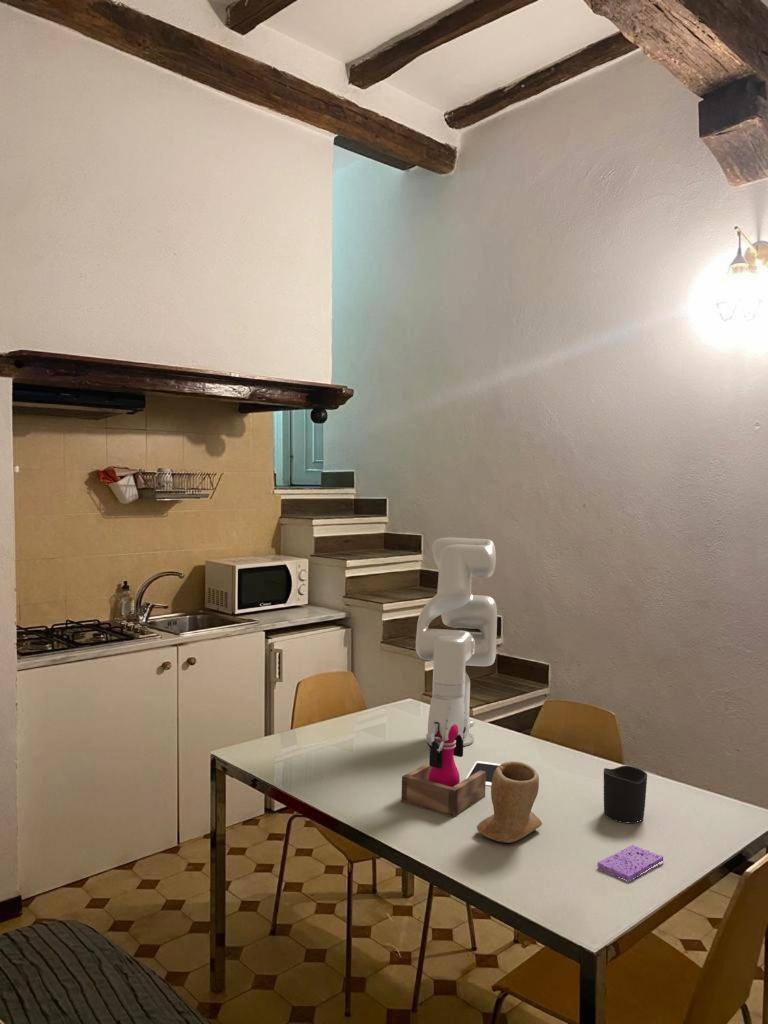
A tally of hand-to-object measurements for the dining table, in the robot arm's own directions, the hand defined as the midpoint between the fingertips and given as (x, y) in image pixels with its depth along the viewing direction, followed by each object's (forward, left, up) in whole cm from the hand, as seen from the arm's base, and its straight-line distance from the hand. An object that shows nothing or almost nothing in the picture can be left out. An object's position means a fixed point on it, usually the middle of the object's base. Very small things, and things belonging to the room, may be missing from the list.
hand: (446, 761), depth 186 cm
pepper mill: (+1, 0, -8) cm, 8 cm away
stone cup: (+7, +21, -9) cm, 24 cm away
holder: (0, 0, -9) cm, 9 cm away
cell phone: (-21, 0, -9) cm, 23 cm away
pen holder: (-17, +37, -9) cm, 42 cm away
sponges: (+6, +46, -10) cm, 47 cm away
